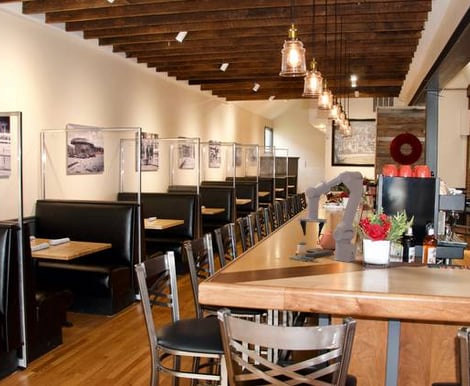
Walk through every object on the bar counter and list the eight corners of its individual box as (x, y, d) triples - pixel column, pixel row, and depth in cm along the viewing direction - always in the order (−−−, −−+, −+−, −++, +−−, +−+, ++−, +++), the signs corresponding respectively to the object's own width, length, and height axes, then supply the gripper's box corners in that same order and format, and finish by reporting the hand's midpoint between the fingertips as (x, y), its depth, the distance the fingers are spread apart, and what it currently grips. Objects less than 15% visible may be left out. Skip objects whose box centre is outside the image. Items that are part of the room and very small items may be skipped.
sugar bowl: (343, 250, 272) (344, 232, 272) (318, 250, 273) (318, 231, 272) (339, 247, 285) (339, 229, 284) (314, 246, 285) (315, 228, 284)
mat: (313, 259, 242) (313, 258, 242) (304, 261, 237) (304, 260, 237) (298, 256, 249) (298, 255, 249) (289, 258, 243) (289, 257, 243)
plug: (307, 257, 245) (308, 242, 244) (306, 259, 239) (307, 244, 239) (296, 256, 246) (296, 241, 246) (294, 258, 241) (295, 243, 240)
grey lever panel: (333, 254, 260) (333, 250, 260) (311, 258, 246) (312, 254, 246) (317, 251, 267) (317, 247, 267) (295, 255, 253) (295, 251, 252)
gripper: (297, 209, 257) (296, 235, 257) (325, 211, 252) (324, 237, 252) (300, 209, 263) (299, 234, 264) (327, 210, 258) (326, 236, 259)
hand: (311, 236), depth 259 cm, fingers open, 7 cm apart
